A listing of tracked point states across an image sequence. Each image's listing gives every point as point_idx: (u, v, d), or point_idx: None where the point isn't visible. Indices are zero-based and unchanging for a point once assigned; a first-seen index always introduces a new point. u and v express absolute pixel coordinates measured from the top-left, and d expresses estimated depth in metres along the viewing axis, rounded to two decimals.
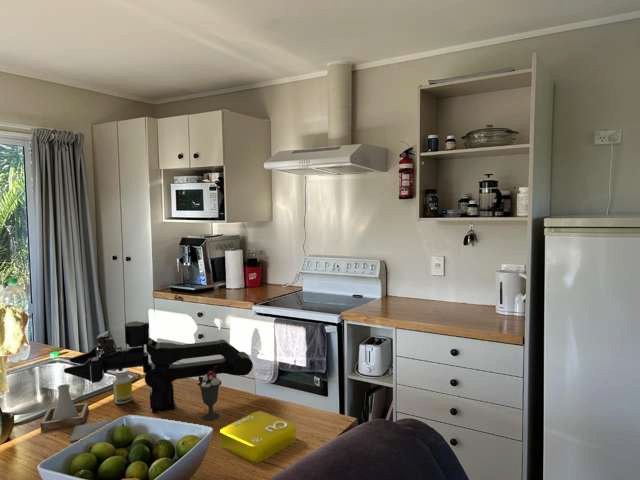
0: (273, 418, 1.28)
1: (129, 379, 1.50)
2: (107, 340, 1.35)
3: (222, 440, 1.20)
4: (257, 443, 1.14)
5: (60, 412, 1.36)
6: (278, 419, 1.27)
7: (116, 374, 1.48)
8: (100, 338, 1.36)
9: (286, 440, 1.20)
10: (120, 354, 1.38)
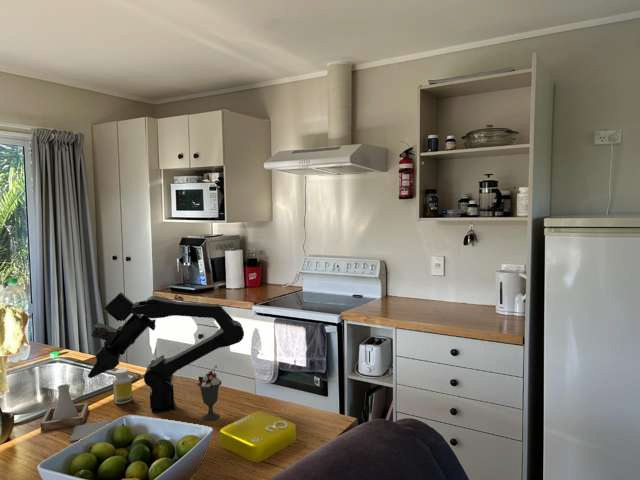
0: (273, 418, 1.28)
1: (129, 379, 1.50)
2: (98, 330, 1.35)
3: (223, 439, 1.20)
4: (257, 443, 1.15)
5: (60, 412, 1.36)
6: (278, 419, 1.27)
7: (116, 374, 1.48)
8: (93, 333, 1.36)
9: (286, 440, 1.20)
10: (120, 332, 1.38)
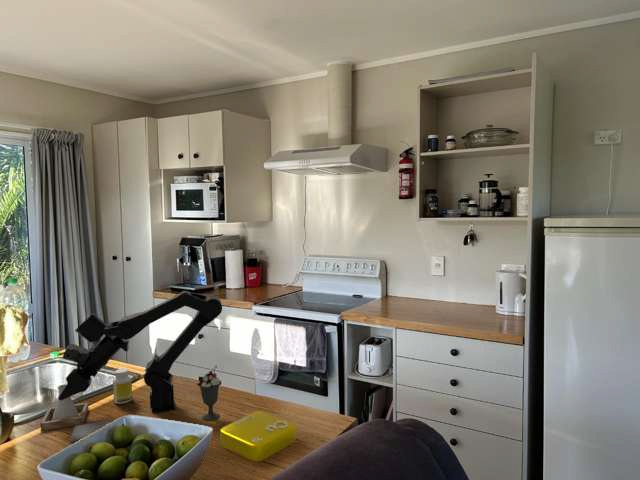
0: (273, 418, 1.28)
1: (129, 379, 1.50)
2: (69, 352, 1.33)
3: (223, 439, 1.21)
4: (257, 442, 1.15)
5: (60, 412, 1.36)
6: (278, 419, 1.27)
7: (116, 374, 1.48)
8: (64, 355, 1.35)
9: (286, 440, 1.21)
10: (92, 353, 1.37)
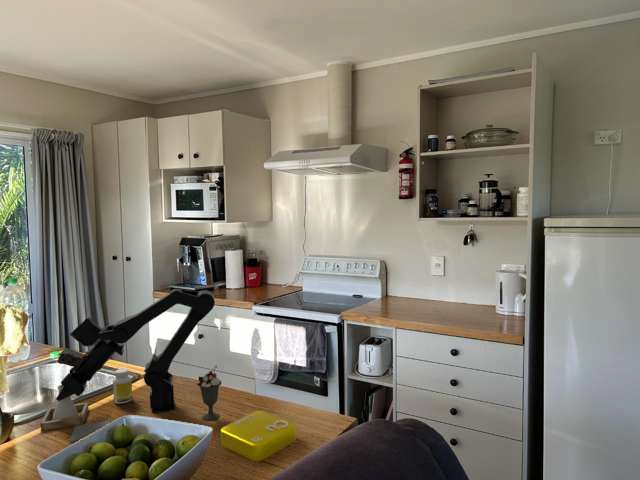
0: (274, 417, 1.28)
1: (129, 379, 1.50)
2: (63, 357, 1.33)
3: (223, 439, 1.21)
4: (258, 442, 1.15)
5: (60, 411, 1.36)
6: (279, 418, 1.27)
7: (116, 374, 1.48)
8: (59, 359, 1.35)
9: (286, 439, 1.21)
10: (87, 358, 1.36)
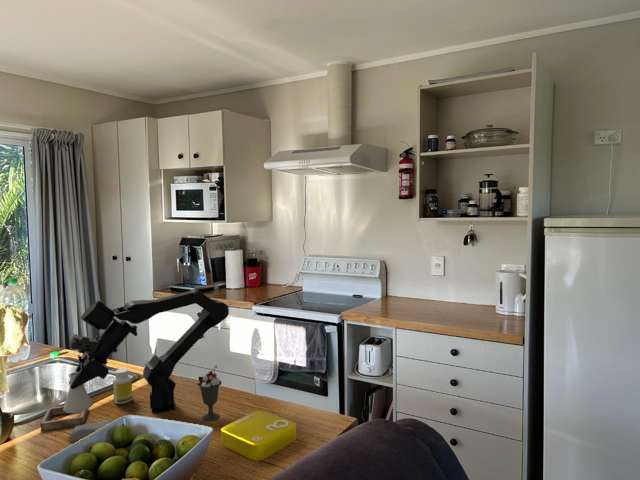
0: (274, 417, 1.28)
1: (129, 379, 1.50)
2: (80, 341, 1.28)
3: (224, 438, 1.21)
4: (258, 441, 1.15)
5: (76, 400, 1.30)
6: (279, 418, 1.28)
7: (116, 374, 1.48)
8: (73, 345, 1.29)
9: (286, 439, 1.21)
10: (103, 341, 1.33)
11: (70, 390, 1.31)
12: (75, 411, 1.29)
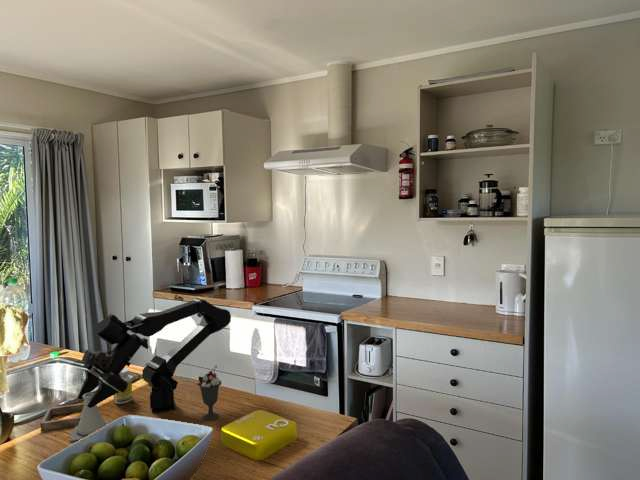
0: (274, 416, 1.28)
1: (129, 379, 1.50)
2: (98, 356, 1.27)
3: (224, 438, 1.21)
4: (258, 441, 1.15)
5: (91, 421, 1.28)
6: (279, 417, 1.28)
7: None
8: (89, 361, 1.27)
9: (287, 438, 1.21)
10: (117, 355, 1.32)
11: (84, 411, 1.29)
12: (91, 432, 1.27)
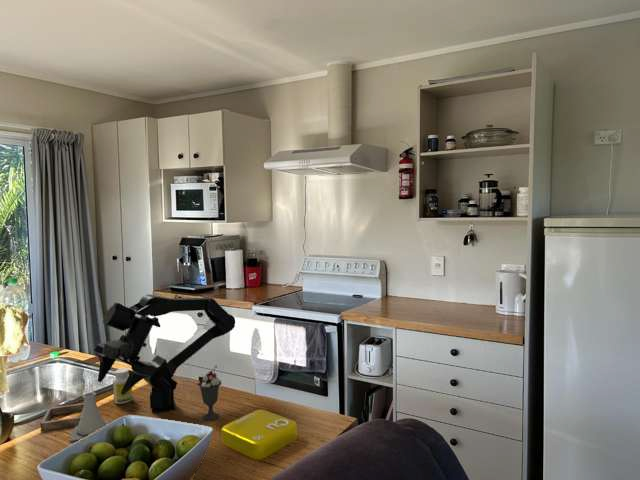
0: (274, 416, 1.29)
1: None
2: (124, 351, 1.30)
3: (224, 437, 1.21)
4: (259, 440, 1.16)
5: (91, 421, 1.28)
6: (279, 417, 1.28)
7: (116, 374, 1.48)
8: (114, 355, 1.30)
9: (287, 438, 1.22)
10: (135, 341, 1.36)
11: (84, 411, 1.29)
12: (91, 432, 1.27)
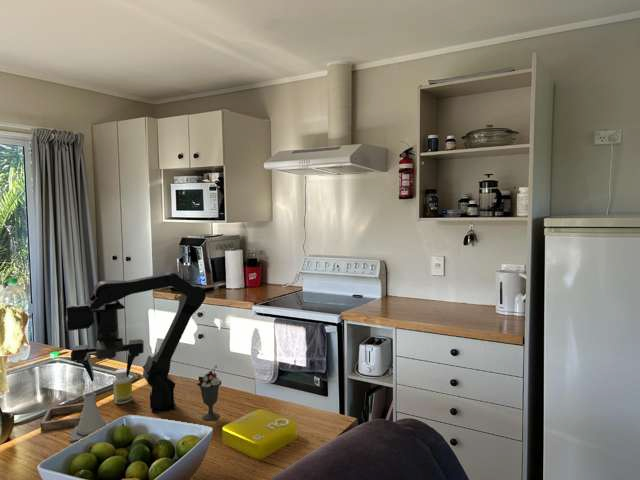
0: (275, 416, 1.29)
1: (129, 379, 1.50)
2: (122, 345, 1.31)
3: (225, 437, 1.22)
4: (259, 440, 1.16)
5: (91, 421, 1.28)
6: (279, 416, 1.28)
7: (116, 374, 1.48)
8: (114, 353, 1.30)
9: (287, 437, 1.22)
10: (115, 330, 1.34)
11: (84, 411, 1.29)
12: (91, 432, 1.27)
